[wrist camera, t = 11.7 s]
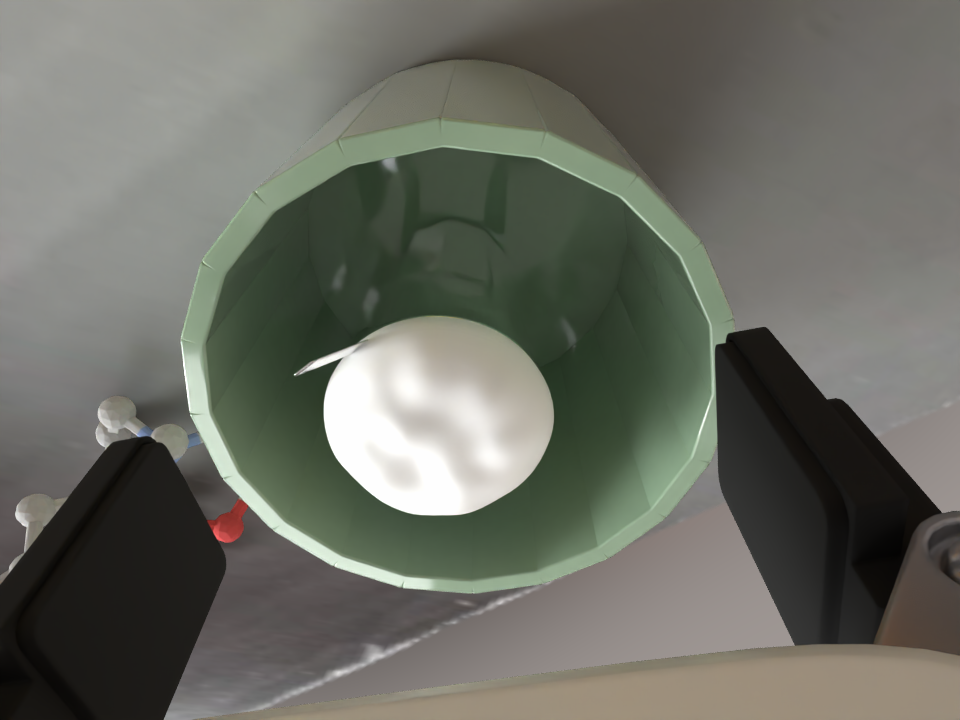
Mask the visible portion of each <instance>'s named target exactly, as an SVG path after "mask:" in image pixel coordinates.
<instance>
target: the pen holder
mask: <svg viewBox="0 0 960 720" xmlns="http://www.w3.org/2000/svg"><path fill="white" fill-rule="evenodd" d="M447 218H451V219H455V220H459V221H462V222H466V223H470V224H474V225H478V226H481V227H483V228H484V229H485V230H486V232H487V233H488V234H489V235H490V236H491V238H492V239H493V240H494V241H495V243H496V244H497V245H498V246H499V247H500V249H501V250H502V251H503V252H504V254H505V257H506V260H507V264H508V267H509V270H510V274H511V277H512V281H513V284H514V288H515V291H516V294H517V298H518V301H519V305H520V308H521V312H522V315H523V319H524V322H525V326H526V329H527V332H528V335H529V338H530V340H531V343H532V346H533V349H534V352H535V354H536V357H537V360H538V363H539V365H540V368H541V371H542V374H543V377H544V379H545V381H546V383H547V386H548V388H549V391H550V394H551V398H552V402H553V409H554V424H553V430H552V434H551V438H550V441H549V443H548V446H547V448H546V450H545V452H544V454H543V456H542V458H541V460H540V462H539V463H538V465H537V466H536V468H535V469H534V471H533V472H532V473H531V474H530V475H529V476H528V478H527V479H526V480H525V481H524V482H522V483H521V484H520V485H519V486H518V487H517V488H515V489H514V490H512V491H511V492H509V493H508V494H506V495H504V496H503V497H501V498H499V499H497V500H496V501H494V502H492V503H490V504H488V505H486V506H485V507H483V508H481V509H478V510H476V511H473V512H470V513H466V514H461V515H417V514H411V513H407V512H404V511H401V510H398V509H396V508H393V507H391V506H389V505H387V504H385V503H384V502H382V501H380V500H379V499H377V498H376V497H375V496H373V495H372V494H371V493H370V492H368V491H367V490H366V489H365V488H364V487H363V486H362V485H361V484H360V483H359V482H357V481H356V480H355V479H354V478H353V477H352V476H351V475H350V473H349V472H348V471H347V470H346V469H345V468H344V467H343V466H342V465H341V464H340V462H339V461H338V460H337V458H336V456H335V455H334V453H333V451H332V449H331V446H330V444H329V441H328V437H327V433H326V429H325V423H324V399H325V393H326V389H327V386H328V383H329V380H330V378H331V376H332V374H333V372H334V370H335V369H336V367H337V366H338V364H339V362H340V361H341V359H342V358H340V359H338V360H336V361H333V362H331V363H328V364H326V365H324V366H321V367H319V368H316V369H314V370H311V371H309V372H307V373H304V374H302V375H299V376H296V377H295V376H294V375H295V373H296V372H298V371H299V370H300V369H302V368H303V367H304V366H305V365H307V364H308V363H309V362H311V361H312V360H315V359H317V358H320V357H322V356H325V355H328V354H330V353H333V352H335V351H338V350H341V349H343V348H346V347H348V346H350V344H351V342H352V341H353V339H354V337H355V336H356V334H357V332H358V331H359V329H360V328H361V326H362V324H363V323H364V321H365V319H366V318H367V316H368V315H369V313H370V312H371V311H372V309H373V308H374V306H375V304H376V302H377V300H378V298H379V296H380V294H381V292H382V290H383V288H384V286H385V284H386V282H387V280H388V278H389V276H390V274H391V272H392V270H393V268H394V266H395V264H396V262H397V261H398V259H399V257H400V255H401V254H402V252H403V251H404V249H405V248H406V246H407V245H408V243H409V241H410V240H411V238H412V237H413V235H414V233H415V232H416V230H418V229H420V228H423V227H426V226H429V225H431V224H434V223H437V222H440V221H442V220H445V219H447ZM732 332H735V331H734V318H733V313H732V311H731V308H730V306H729V303H728V301H727V299H726V296H725V294H724V291H723V289H722V287H721V284H720V282H719V279H718V277H717V275H716V272H715V270H714V267H713V265H712V263H711V260H710V258H709V255H708V253H707V251H706V248H705V246H704V243H703V242H702V241H701V239H700V238H699V236H698V235H697V234H696V233H695V232H694V230H693V229H692V228H691V227H690V226H689V225H688V223H687V222H686V221H685V220H684V219H683V217H682V216H681V215H680V214H679V213H678V211H677V210H676V209H675V208H674V207H673V206H672V204H671V203H670V202H669V201H668V200H667V198H666V197H665V196H664V195H663V194H662V192H661V191H660V190H659V189H658V188H657V187H656V185H655V184H654V183H653V182H652V181H651V179H650V178H649V177H648V176H647V175H646V174H645V172H644V171H643V170H642V169H641V168H640V166H639V165H638V164H637V163H636V162H635V160H634V159H633V158H632V157H631V156H630V155H629V153H628V152H627V151H626V150H625V149H624V147H623V146H622V145H621V144H620V143H619V142H618V140H617V139H616V138H615V137H614V136H613V135H612V134H611V133H610V131H609V130H608V129H607V128H606V127H605V126H604V125H603V124H602V123H601V122H600V121H599V120H598V119H597V118H596V117H595V116H594V115H593V114H592V112H591V111H590V110H589V109H588V108H587V107H586V106H585V105H584V104H583V103H582V102H581V101H580V100H579V99H578V98H577V97H576V96H574V95H573V94H572V93H570V92H568V91H566V90H564V89H562V88H561V87H559V86H558V85H556V84H555V83H553V82H551V81H550V80H548V79H546V78H543V77H541V76H539V75H537V74H535V73H532V72H530V71H528V70H525V69H522V68H518V67H517V66H511V65H508V64H504V63H499V62H492V61H485V60H461V59H458V60H447V61H440V62H433V63H427V64H424V65H421V66H417V67H414V68H411V69H407V70H404V71H401V72H398V73H395V74H393V75H391V76H390V77H388V78H387V79H384V80H382V81H381V82H379V83H378V84H376V85H375V86H373V87H371V88H370V89H368V90H367V91H365V92H364V93H362V94H361V95H360V96H358V97H357V98H355V99H353V100H352V101H350V102H349V103H347V104H346V105H345V106H344V107H343V108H342V109H341V110H339V111H338V112H337V113H336V114H335V115H334V116H333V117H332V118H331V119H330V120H329V121H328V122H327V123H326V124H325V125H324V126H322V127H321V128H320V129H319V130H318V131H317V132H316V133H315V134H314V135H313V136H312V137H311V138H310V139H309V140H308V141H307V142H305V143H304V144H303V145H302V146H301V147H300V148H299V149H298V150H297V151H296V152H295V153H294V154H293V155H292V156H291V157H290V158H288V159H287V160H286V161H285V162H284V163H283V164H282V165H281V166H280V167H279V168H278V169H277V170H276V171H275V172H274V173H273V174H271V175H270V176H269V177H268V178H267V179H266V180H265V181H264V182H263V183H262V184H261V185H260V186H259V187H258V188H257V189H256V190H255V191H253V192H252V194H251V195H250V196H249V198H248V199H247V200H246V202H245V203H244V204H243V206H242V207H241V208H240V209H239V211H238V212H237V213H236V215H235V216H234V217H233V219H232V220H231V221H230V223H229V224H228V225H227V227H226V228H225V229H224V231H223V232H222V233H221V235H220V236H219V237H218V239H217V240H216V241H215V243H214V244H213V245H212V247H211V248H210V249H209V251H208V252H207V253H206V255H205V256H204V257H203V259H202V262H201V263H200V266H199V270H198V273H197V277H196V281H195V285H194V288H193V292H192V296H191V300H190V304H189V307H188V311H187V315H186V319H185V322H184V326H183V330H182V334H181V348H182V357H183V365H184V373H185V381H186V389H187V398H188V406H189V412H190V415H191V418H192V420H193V422H194V424H195V426H196V428H197V430H198V432H199V434H200V436H201V438H202V440H203V442H204V444H205V446H206V448H207V449H208V451H209V453H210V455H211V457H212V459H213V461H214V463H215V465H216V467H217V469H218V471H219V473H220V475H221V477H222V478H223V479H224V481H225V482H226V483H227V484H228V485H229V486H230V487H231V488H232V489H233V490H234V491H235V492H236V493H237V494H238V495H239V496H240V497H241V499H242V500H243V501H244V502H245V503H246V504H247V505H248V506H249V507H250V508H251V509H252V510H253V511H254V512H255V513H256V514H257V515H258V516H259V517H260V518H261V519H262V520H263V521H264V522H265V523H266V524H267V525H268V526H269V527H270V528H271V529H273V530H274V532H276V533H278V534H279V535H281V536H283V537H284V538H286V539H288V540H290V541H291V542H293V543H295V544H296V545H298V546H300V547H301V548H303V549H305V550H306V551H308V552H310V553H311V554H313V555H315V556H316V557H318V558H320V559H321V560H323V561H325V562H326V563H328V564H330V565H331V566H334V565H335V567H336V568H339V569H342V570H345V571H349V572H352V573H355V574H358V575H361V576H365V577H368V578H371V579H374V580H378V581H381V582H384V583H387V584H390V585H394V586H397V587H403V588H407V589H419V590H432V591H444V592H457V593H469V594H471V593H475V594H476V593H483V592H490V591H497V590H504V589H511V588H518V587H526V586H533V585H540V584H542V583H547V582H550V581H552V580H555V579H557V578H560V577H563V576H565V575H568V574H570V573H573V572H576V571H578V570H581V569H583V568H586V567H589V566H591V565H593V564H596V563H599V562H602V561H604V560H607V559H608V557H609V558H610V557H612V556H613V555H615V554H616V553H618V552H619V551H620V550H622V549H623V548H625V547H626V546H628V545H629V544H630V543H632V542H633V541H635V540H636V539H637V538H639V537H640V536H642V535H643V534H645V533H646V532H647V531H649V530H650V529H652V528H653V527H654V526H656V525H657V524H659V523H660V522H661V521H663V520H664V519H665V518H666V517H667V516H668V515H669V514H670V513H671V512H672V510H673V509H674V508H675V507H676V505H677V504H678V503H679V502H680V500H681V499H682V498H683V497H684V495H685V494H686V493H687V492H688V490H689V489H690V488H691V487H692V485H693V484H694V483H695V481H696V480H697V479H698V478H699V476H700V475H701V474H702V473H703V471H704V470H705V469H706V468H707V466H708V465H709V463H710V461H711V460H712V457H713V455H714V452H715V449H716V446H717V411H716V379H715V347H716V345H717V344H722V343H726V337H727V335H728V333H732Z"/></svg>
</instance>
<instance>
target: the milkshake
mask: <svg viewBox="0 0 960 720" xmlns="http://www.w3.org/2000/svg"><path fill="white" fill-rule="evenodd" d="M340 358H342V359H341V361H340V362H339V364H338V366H337V367H336V369H335V370H334V372H333V374H332V376H331V378H330V380H329V383H328V386H327V389H326V393H325V399H324V423H325V429H326V433H327V437H328V441H329V444H330V446H331V449H332V451H333V453H334V455H335V456H336V458H337V460H338V461H339V462H340V464H341V465H342V466H343V467H344V468H345V469H346V470H347V471H348V472H349V473H350V475H351V476H352V477H353V478H354V479H355V480H356V481H357V482H359V483H360V484H361V485H362V486H363V487H364V488H365V489H366V490H367V491H368V492H370V493H371V494H372V495H373V496H375V497H376V498H377V499H379V500H380V501H382V502H384V503H385V504H387V505H389V506H391V507H393V508H396V509H398V510H401V511H404V512H407V513H411V514H417V515H461V514H466V513H470V512H473V511H476V510H478V509H481V508H483V507H485V506H486V505H488V504H490V503H492V502H494V501H496V500H497V499H499V498H501V497H503V496H504V495H506V494H508V493H509V492H511V491H512V490H514V489H515V488H517V487H518V486H519V485H520V484H521V483H522V482H524V481H525V480H526V479H527V478H528V476H529V475H530V474H531V473H532V472H533V471H534V469H535V468H536V466H537V465H538V463H539V462H540V460H541V458H542V456H543V454H544V452H545V450H546V448H547V446H548V443H549V441H550V438H551V434H552V430H553V424H554V409H553V402H552V398H551V394H550V391H549V388H548V386H547V383H546V381H545V379H544V377H543V374H542V371H541V368H540V365H539V363H538V360H537V357H536V354H535V352H534V349H533V346H532V343H531V340H530V338H529V335H528V332H527V329H526V326H525V322H524V319H523V315H522V312H521V308H520V305H519V301H518V298H517V294H516V291H515V288H514V284H513V281H512V277H511V274H510V270H509V267H508V264H507V260H506V257H505V254H504V252H503V251H502V250H501V249H500V247H499V246H498V245H497V244H496V243H495V241H494V240H493V239H492V238H491V236H490V235H489V234H488V233H487V232H486V230H485V229H484V228H483V227H481V226H478V225H474V224H470V223H466V222H462V221H459V220H455V219H451V218H447V219H445V220H442V221H440V222H437V223H434V224H431V225H429V226H426V227H423V228H420V229H418V230H416V232H415V233H414V235H413V237H412V238H411V240H410V241H409V243H408V245H407V246H406V248H405V249H404V251H403V252H402V254H401V255H400V257H399V259H398V261H397V262H396V264H395V266H394V268H393V270H392V272H391V274H390V276H389V278H388V280H387V282H386V284H385V286H384V288H383V290H382V292H381V294H380V296H379V298H378V300H377V302H376V304H375V306H374V308H373V309H372V311H371V312H370V313H369V315H368V316H367V318H366V319H365V321H364V323H363V324H362V326H361V328H360V329H359V331H358V332H357V334H356V336H355V337H354V339H353V341H352V342H351V344H350V346H348V347H346V348H343V349H341V350H338V351H335V352H333V353H330V354H328V355H325V356H322V357H320V358H317V359H315V360H312V361H311V362H309V363H308V364H307V365H305V366H304V367H303V368H302V369H300V370H299V371H298V372H296V373H295V375H294V376H295V377H296V376H299V375H302V374H304V373H307V372H309V371H311V370H314V369H316V368H319V367H321V366H324V365H326V364H328V363H331V362H333V361H336V360H338V359H340Z"/></svg>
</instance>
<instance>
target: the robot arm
mask: <svg viewBox="0 0 960 720" xmlns="http://www.w3.org/2000/svg"><path fill="white" fill-rule="evenodd" d="M715 379H716V411H717V444H718V474H719V482H720V486H721V490H722V493H723V496H724V498H725V500H726V502H727V504H728V506H729V508H730V510H731V512H732V515H733V517H734V519H735V521H736V523H737V525H738V527H739V529H740V531H741V533H742V536H743V538H744V540H745V542H746V544H747V546H748V548H749V550H750V552H751V554H752V557H753V559H754V561H755V563H756V565H757V567H758V569H759V571H760V573H761V575H762V577H763V579H764V582H765V584H766V586H767V588H768V590H769V592H770V594H771V596H772V598H773V600H774V603H775V604H776V607H777V609H778V611H779V613H780V615H781V617H782V619H783V621H784V623H785V626H786V628H787V630H788V632H789V634H790V636H791V638H792V640H793V642H794V644H795V646H785V647H770V648H756V649H745V650H736V651H727V652H717V653H708V654H699V655H690V656H681V657H672V658H665V659H655V660H645V661H636V662H629V663H620V664H612V665H605V666H597V667H589V668H580V669H573V670H565V671H557V672H549V673H541V674H533V675H526V676H518V677H510V678H502V679H494V680H486V681H478V682H471V683H463V684H455V685H447V686H440V687H432V688H424V689H417V690H410V691H402V692H394V693H386V694H379V695H371V696H364V697H356V698H349V699H341V700H333V701H326V702H319V703H311V704H304V705H297V706H289V707H281V708H274V709H266V710H259V711H251V712H244V713H237V714H230V715H222V716H215V717H208V718H201V719H194V720H960V511H951V512H947V513H942V512H941V511H940V510H939V509H938V508H937V507H936V505H935V504H934V503H933V502H932V501H931V500H930V499H929V497H928V496H927V495H926V494H925V493H924V492H923V491H922V489H921V488H920V487H919V486H918V485H917V484H916V482H915V481H914V480H913V479H912V478H911V477H910V476H909V475H908V473H907V472H906V471H905V470H904V469H903V468H902V466H901V465H900V464H899V463H898V462H897V461H896V460H895V458H894V457H893V456H892V455H891V454H890V453H889V451H888V450H887V449H886V448H885V447H884V446H883V445H882V444H881V442H880V441H879V440H878V439H877V438H876V436H875V435H874V434H873V433H872V432H871V431H870V430H869V428H868V427H867V426H866V425H865V424H864V423H863V422H862V420H861V419H860V418H859V417H858V416H857V415H856V413H855V412H854V411H853V410H852V409H851V408H850V407H849V405H847V404H846V403H845V402H844V401H843V400H841V399H837V398H834V399H828V400H827V399H826V398H825V397H824V395H823V394H822V393H821V392H820V391H819V389H818V388H817V387H816V386H815V385H814V383H813V382H812V381H811V380H810V379H809V377H808V376H807V375H806V374H805V373H804V371H803V370H802V369H801V368H800V367H799V365H798V364H797V363H796V362H795V361H794V359H793V358H792V357H791V356H790V355H789V353H788V352H787V351H786V350H785V349H784V347H783V346H782V345H781V344H780V343H779V341H778V340H777V339H776V338H775V337H774V335H773V334H772V333H771V332H770V331H769V330H768V329H767V328H766V327H761V328H755V329H749V330H744V331H738V332H732V333H728V335H727V337H726V343H722V344H717V345H716V347H715ZM225 570H226V558H225V554H224V551H223V549H222V547H221V546H220V544H219V542H218V540H217V538H216V536H215V535H214V533H213V531H212V529H211V527H210V525H209V524H208V522H207V520H206V518H205V516H204V514H203V513H202V511H201V509H200V507H199V505H198V503H197V502H196V500H195V498H194V496H193V494H192V492H191V491H190V489H189V487H188V485H187V483H186V481H185V479H184V478H183V476H182V474H181V472H180V470H179V468H178V467H177V465H176V463H175V461H174V459H173V457H172V456H171V454H170V452H169V450H168V448H167V447H166V446H165V445H164V444H163V443H161V442H156V440H155V439H153V438H152V437H149V436H142V437H136V438H131V439H125V440H119V441H115V442H112V443H111V444H110V445H109V446H108V447H107V448H106V450H105V451H104V452H103V454H102V455H101V456H100V457H99V459H98V460H97V461H96V462H95V464H94V465H93V466H92V468H91V469H90V470H89V471H88V473H87V474H86V475H85V477H84V478H83V479H82V480H81V482H80V483H79V484H78V486H77V487H76V488H75V489H74V491H73V492H72V493H71V495H70V496H69V497H68V498H67V500H66V501H65V502H64V503H63V505H62V506H61V507H60V509H59V510H58V511H57V512H56V514H55V515H54V516H53V518H52V519H51V520H50V521H49V523H48V524H47V525H46V527H45V528H44V529H43V530H42V532H41V533H40V534H39V536H38V537H37V538H36V539H35V541H34V542H33V543H32V544H31V546H30V547H29V548H28V550H27V551H26V552H25V553H24V555H23V556H22V557H21V559H20V560H19V561H18V562H17V564H16V565H15V566H14V568H13V569H12V570H11V571H10V573H9V574H8V575H7V577H6V578H5V579H4V580H3V582H2V583H1V584H0V720H164V717H165V715H166V712H167V710H168V708H169V705H170V703H171V701H172V698H173V696H174V693H175V691H176V689H177V686H178V684H179V681H180V679H181V677H182V674H183V672H184V670H185V667H186V665H187V662H188V660H189V658H190V655H191V653H192V650H193V648H194V646H195V643H196V641H197V638H198V636H199V634H200V631H201V629H202V627H203V624H204V622H205V619H206V617H207V615H208V612H209V610H210V607H211V605H212V603H213V600H214V598H215V596H216V593H217V591H218V588H219V586H220V584H221V581H222V579H223V576H224V574H225Z"/></svg>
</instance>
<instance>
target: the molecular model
mask: <svg viewBox="0 0 960 720" xmlns="http://www.w3.org/2000/svg"><path fill="white" fill-rule="evenodd" d="M135 416H136V407H135V405H134V404H133V402H132V401H131V400H130V399H128V398H127V397H121V396H112V397H110V398H108V399H106V400H105V401H103V402H102V403H101V405H100V407H99V409H98V417H99V420H100V423H99V425H98V427H97V429H96V431H95V432H96V438H97V440H98V443H99V444H101V445H102V446H104V447H105V450H106V448H107V447H108V446H109V445H110V444H111V443H112V442H115V441H119V440H125V439H130V436H131V432H133V433H134V434H135V435H137V436H138V437H142V436H149V437H152V438H153V439H155V440H156V442H161V443H163V444H164V445H165V446H166V447H167V448H168V450H169V452H170V454H171V456H172V457H173V459H174V461H175V463H176V462H177V461H178V460H179V459H180V458H181V457H182V455H183V454H184V453H185V452H186V450H187V448H190V447H193V446H196V445H198V444H201V443H204V442H203V440H202V438H201V436H200V434H199V432H196V433H193V434H191V435H188V436H187V434H186V431H185V430H184V429H182V428H181V427H180V426H178V425H174V424H164V425H162V426H160V427H157V428H156V429H155V430H154V431H153V430H151V429H150V428H149V427H148V426H146V425H145V424H144V423H142V422H141V421H140V420H138V419H137V418H136V417H135ZM67 498H68V497H65V498H61V499H56V500H53V499H52V498H50V497H49V496H47V495H45V494H33V495H29V496H27V497H25V498H23V499H22V500H21V502H20V503H19V504H18V506H17V509H16V513H15V515H16V519H17V520H18V521H19V522H20V523H21V524H22V525H23V526H25V527H27V530H26V539H25V549H24V553H25V552H26V551H27V550H28V548H29V547H30V546H31V544H32V543H33V542H34V541H35V539H36V538H37V537H38V536H39V534H40V533H41V532H42V529H43V526H45V525H47V524H48V523H49V521H50V520H51V519H52V518H53V516H54V515H55V513H56V512H57V511H58V510H59V509H60V507H61V506H62V505H63V503H64V502H65V501H66V500H67ZM247 508H248V505H247V504H246V503H245V502H244V501H243V500H242V499H241V497H239V499H238V500H237V502H236V504H235V505H234V507H233V508H232V510H231V512H230V513H229V512H228V513H225V514H222V515H220V516H219V517H218V518H217V519H216V520H207V522H208V524H209V525H210V527H211V529H212V531H213V533H214V535H215V536H216V538H217V539H218V540H220V541H223V542H226V543H227V542H233V541H234V540H236V539H237V538H239V537H240V535H241V533H242V532H243V522H242V519H241V518H242V516H243V514H244V513H245V511H246V509H247ZM23 555H24V554H21V555H20V556H18V557H16V558H15V560H14V561H13V562H12V563H11V565H10V567H9V570H8V571H7V572H5V573H3V574H2V575H0V584H1V583H2V582H3V580H4V579H5V578H6V577H7V575H8V574H9V573H10V571H11V570H12V569H13V568H14V566H15V565H16V564H17V562H18V561H19V560H20V559H21V557H22V556H23Z"/></svg>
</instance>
